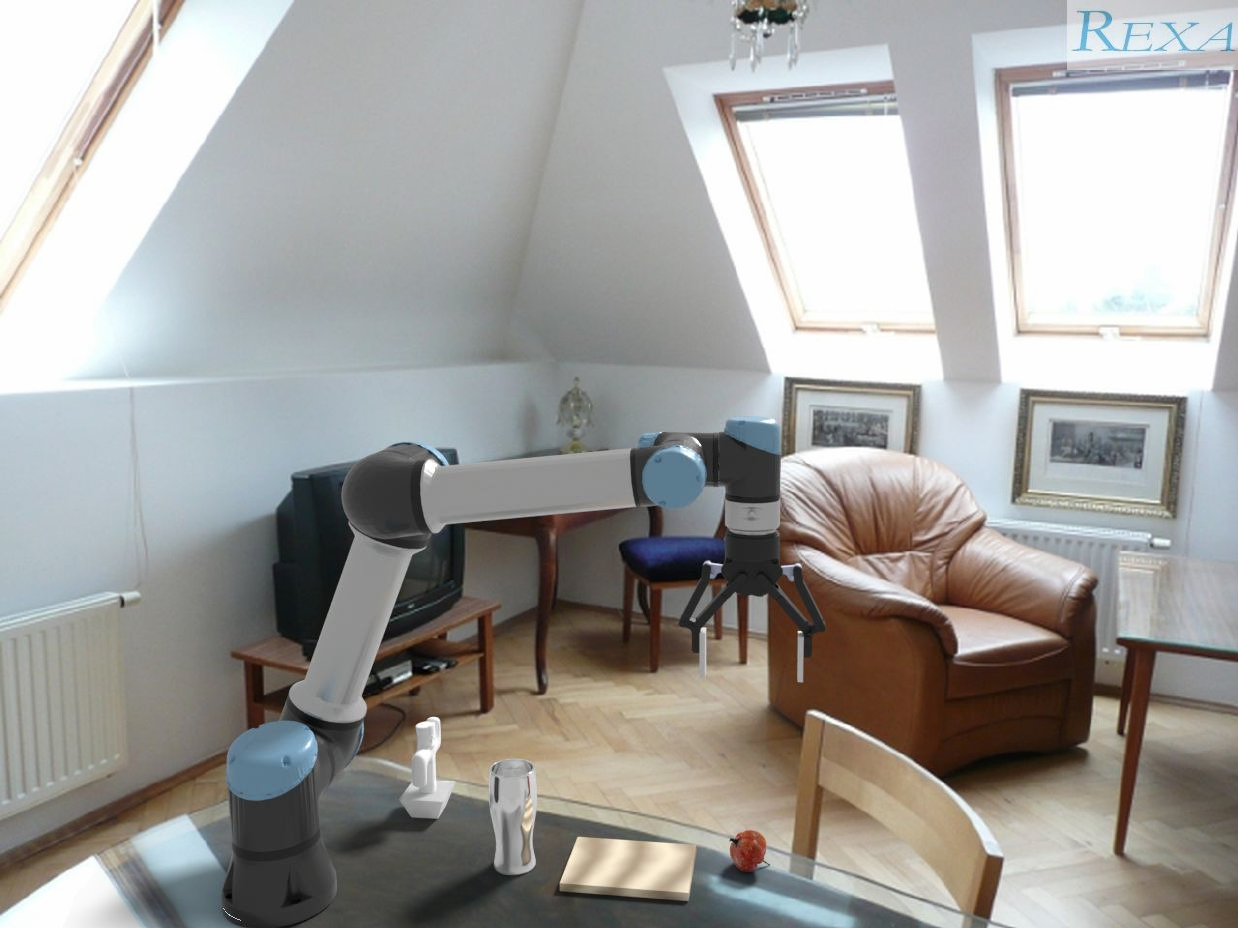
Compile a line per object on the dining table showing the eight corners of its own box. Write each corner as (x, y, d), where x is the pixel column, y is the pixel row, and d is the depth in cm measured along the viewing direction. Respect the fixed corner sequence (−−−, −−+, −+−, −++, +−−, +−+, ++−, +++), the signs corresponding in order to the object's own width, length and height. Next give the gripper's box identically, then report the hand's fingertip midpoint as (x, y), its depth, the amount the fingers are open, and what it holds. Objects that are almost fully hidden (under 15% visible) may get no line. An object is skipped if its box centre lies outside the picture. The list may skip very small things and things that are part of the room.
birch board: (559, 890, 145) (559, 882, 145) (577, 843, 158) (577, 836, 157) (688, 900, 142) (688, 892, 142) (696, 852, 155) (696, 844, 155)
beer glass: (531, 879, 148) (528, 780, 146) (484, 874, 149) (481, 776, 147) (544, 854, 155) (542, 759, 152) (499, 850, 156) (496, 755, 154)
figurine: (397, 824, 164) (393, 734, 162) (416, 796, 174) (413, 711, 171) (441, 826, 163) (438, 736, 161) (458, 799, 173) (455, 713, 170)
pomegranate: (756, 865, 154) (715, 838, 153) (780, 839, 153) (739, 811, 152) (760, 890, 149) (718, 862, 148) (785, 863, 147) (743, 835, 146)
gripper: (659, 532, 142) (660, 682, 145) (846, 537, 138) (842, 690, 141) (665, 521, 149) (666, 664, 152) (843, 525, 145) (840, 671, 148)
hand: (751, 676), depth 146 cm, fingers open, 13 cm apart
